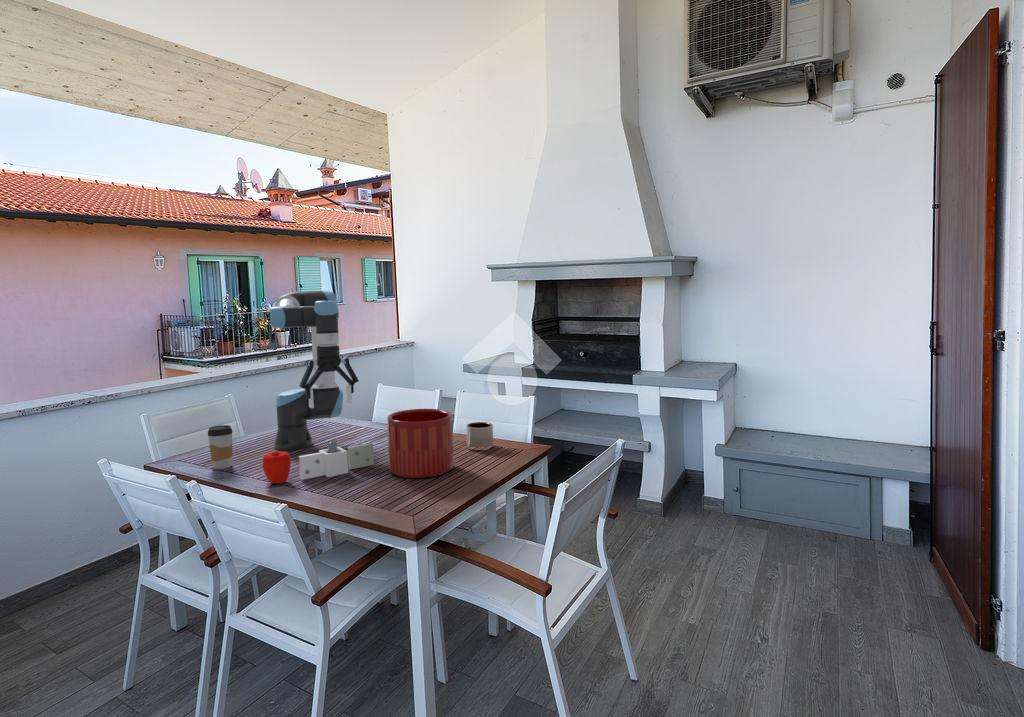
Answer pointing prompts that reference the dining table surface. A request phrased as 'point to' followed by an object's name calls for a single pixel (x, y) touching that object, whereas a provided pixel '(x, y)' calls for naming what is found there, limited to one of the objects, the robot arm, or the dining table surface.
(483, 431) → the planter
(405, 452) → the planter
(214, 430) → the coffee cup
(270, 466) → the apple
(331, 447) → the pin
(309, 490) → the dining table surface
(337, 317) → the robot arm
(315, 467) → the fixed hinge
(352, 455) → the loose leaf
